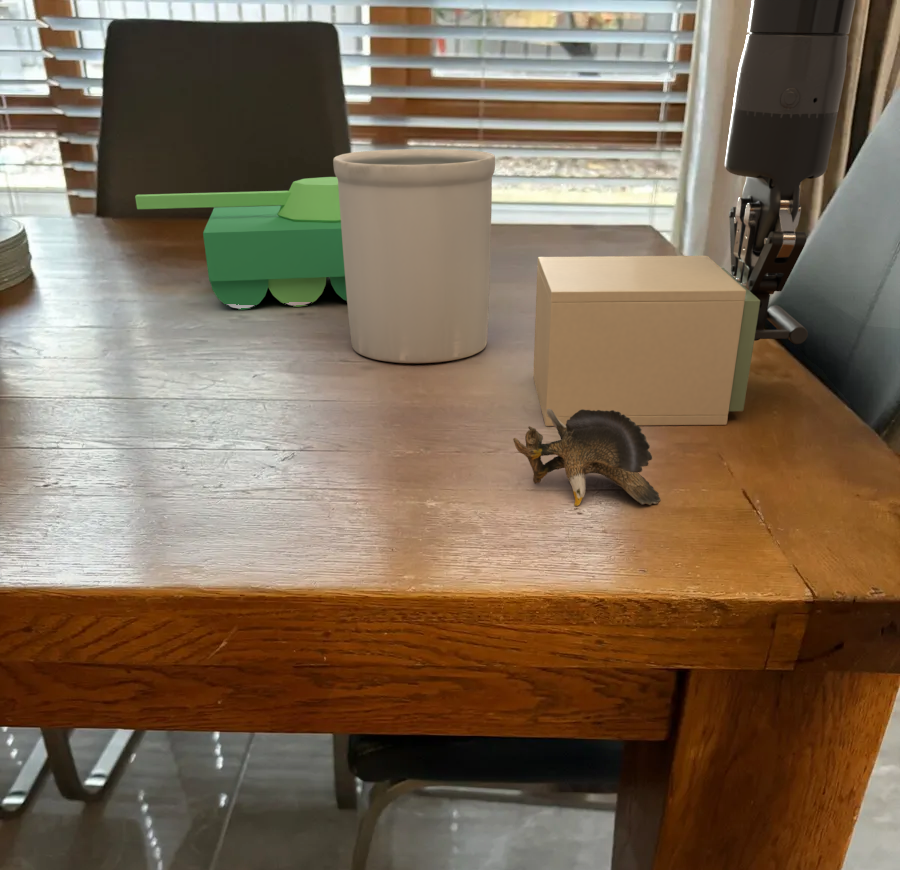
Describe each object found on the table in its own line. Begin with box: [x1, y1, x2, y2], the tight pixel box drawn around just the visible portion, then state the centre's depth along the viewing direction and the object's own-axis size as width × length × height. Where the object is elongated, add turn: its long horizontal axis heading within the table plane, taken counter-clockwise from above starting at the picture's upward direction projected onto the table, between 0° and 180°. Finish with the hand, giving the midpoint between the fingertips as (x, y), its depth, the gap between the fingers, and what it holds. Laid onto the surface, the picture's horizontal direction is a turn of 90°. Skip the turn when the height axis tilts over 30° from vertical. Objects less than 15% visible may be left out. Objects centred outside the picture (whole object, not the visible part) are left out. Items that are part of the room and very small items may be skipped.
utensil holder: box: [332, 148, 496, 364], centre depth 94 cm, size 15×15×18 cm
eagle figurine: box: [512, 409, 662, 507], centre depth 66 cm, size 8×7×9 cm
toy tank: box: [134, 176, 347, 311], centre depth 115 cm, size 18×12×35 cm
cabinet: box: [532, 255, 746, 427], centre depth 81 cm, size 15×13×11 cm
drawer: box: [721, 267, 809, 412], centre depth 81 cm, size 18×11×9 cm, turn 90°
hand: (746, 337), depth 81 cm, fingers closed
